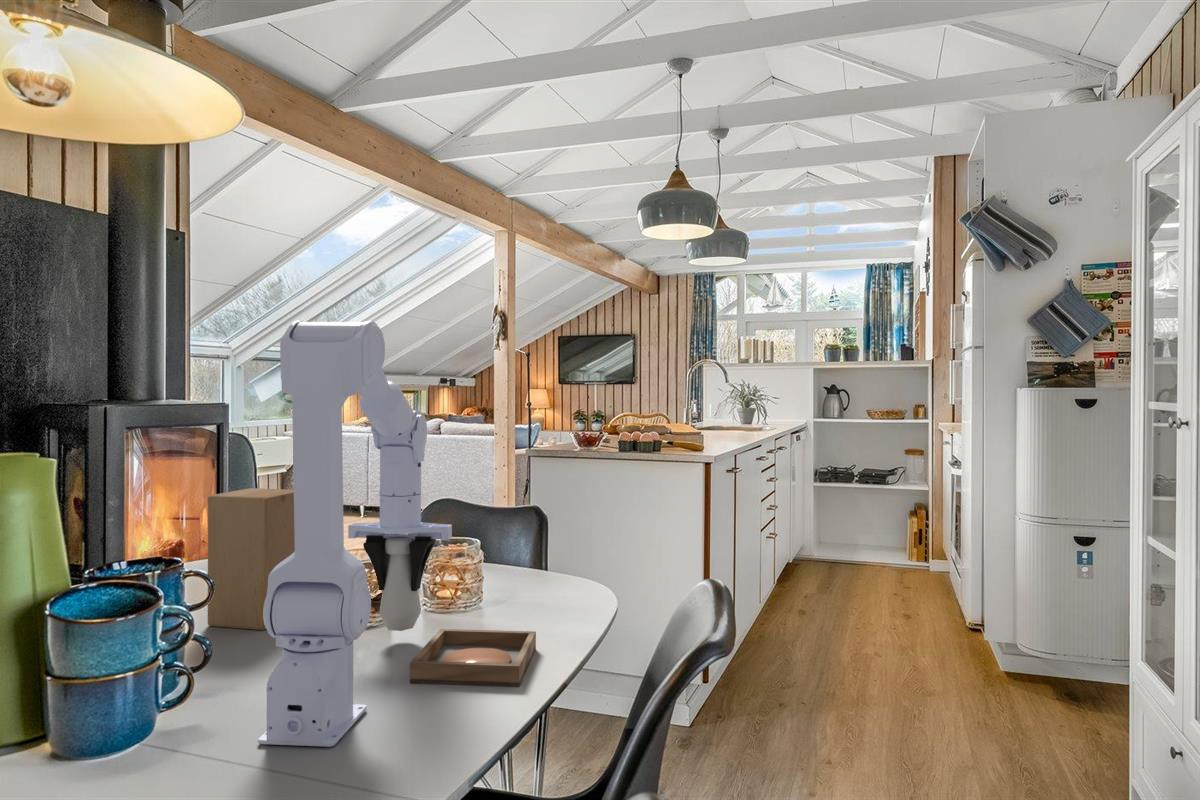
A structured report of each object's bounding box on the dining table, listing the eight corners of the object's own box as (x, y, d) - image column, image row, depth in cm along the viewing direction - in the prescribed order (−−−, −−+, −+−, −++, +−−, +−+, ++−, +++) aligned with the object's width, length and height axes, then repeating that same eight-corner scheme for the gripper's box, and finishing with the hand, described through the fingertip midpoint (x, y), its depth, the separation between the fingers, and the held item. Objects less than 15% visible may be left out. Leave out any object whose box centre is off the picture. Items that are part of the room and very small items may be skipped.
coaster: (504, 674, 96) (504, 672, 96) (433, 672, 96) (433, 670, 96) (516, 650, 105) (516, 648, 105) (451, 648, 105) (452, 646, 105)
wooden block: (303, 612, 124) (304, 489, 124) (264, 631, 114) (264, 497, 114) (249, 608, 126) (249, 487, 126) (206, 626, 116) (206, 495, 116)
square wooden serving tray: (519, 686, 93) (519, 666, 93) (409, 682, 94) (410, 662, 94) (535, 649, 107) (535, 631, 107) (440, 646, 108) (440, 628, 108)
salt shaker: (410, 634, 106) (410, 541, 106) (372, 631, 107) (371, 539, 107) (427, 621, 112) (427, 533, 112) (391, 618, 113) (390, 531, 113)
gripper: (457, 491, 113) (456, 583, 113) (361, 489, 114) (361, 580, 114) (444, 497, 106) (444, 595, 106) (342, 496, 107) (341, 593, 107)
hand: (400, 589), depth 109 cm, fingers closed on salt shaker, 4 cm apart
